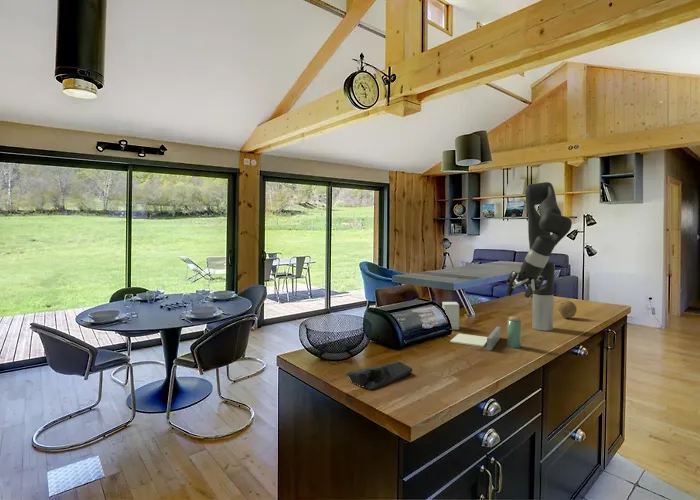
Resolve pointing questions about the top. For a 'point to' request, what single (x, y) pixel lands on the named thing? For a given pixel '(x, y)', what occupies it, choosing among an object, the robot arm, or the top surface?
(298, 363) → the top surface
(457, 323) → the supplement box
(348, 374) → the dark slate chunk
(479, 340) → the rubber mat
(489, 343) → the low wall
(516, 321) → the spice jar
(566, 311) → the natural sponge
